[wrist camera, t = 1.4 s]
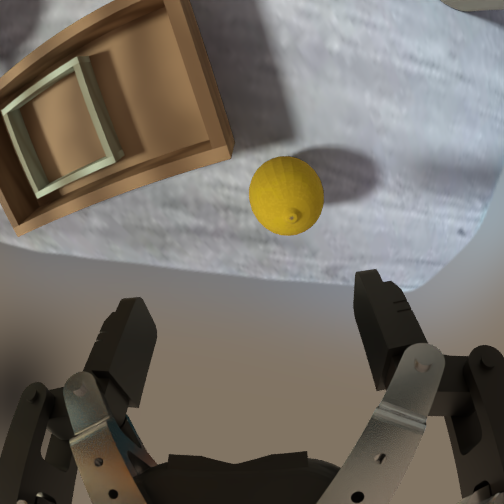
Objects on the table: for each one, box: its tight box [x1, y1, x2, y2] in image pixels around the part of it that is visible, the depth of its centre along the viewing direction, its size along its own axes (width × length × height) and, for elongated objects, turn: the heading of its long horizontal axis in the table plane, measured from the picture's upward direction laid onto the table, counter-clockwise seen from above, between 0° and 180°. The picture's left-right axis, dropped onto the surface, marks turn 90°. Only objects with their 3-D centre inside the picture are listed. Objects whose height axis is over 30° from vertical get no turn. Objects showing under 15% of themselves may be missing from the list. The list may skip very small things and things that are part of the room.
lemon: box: [249, 156, 324, 236], centre depth 23 cm, size 6×6×8 cm
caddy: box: [0, 0, 235, 237], centre depth 21 cm, size 22×14×5 cm, turn 105°
